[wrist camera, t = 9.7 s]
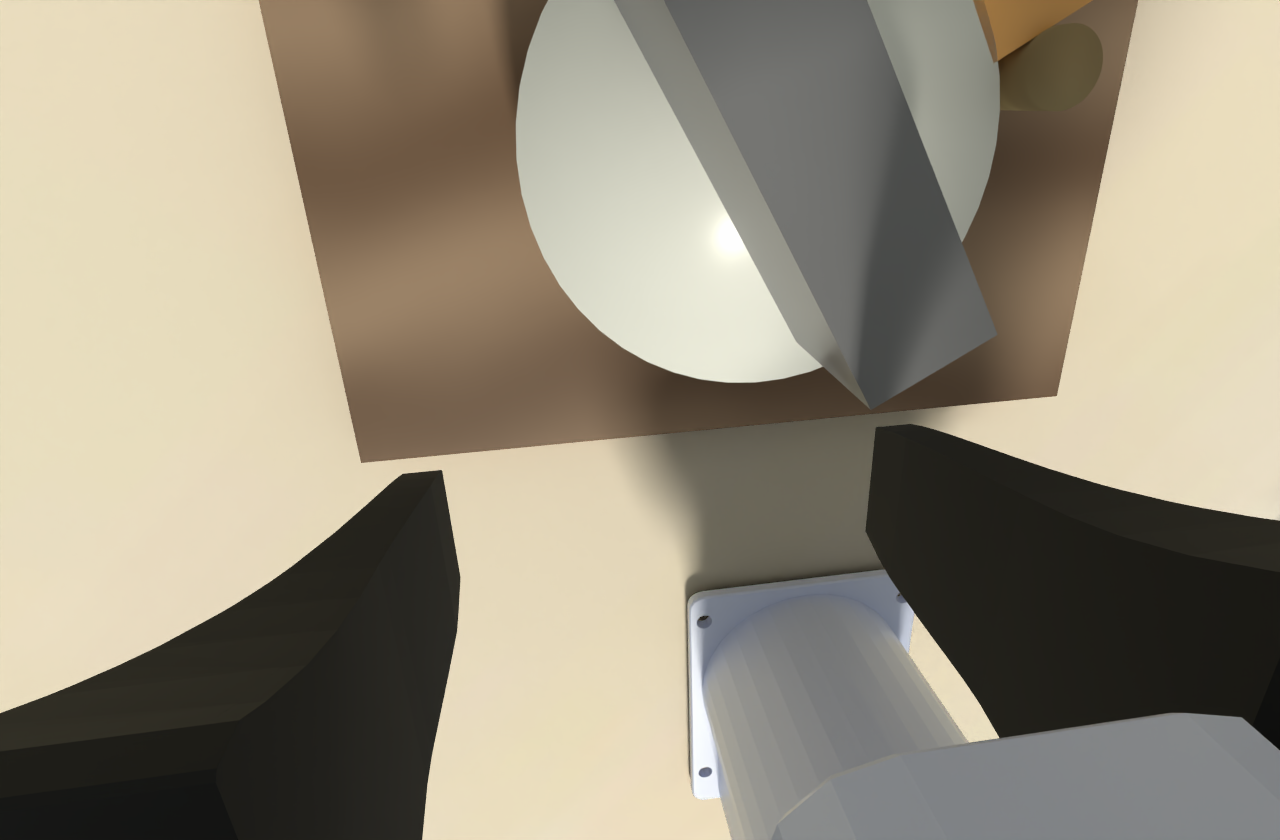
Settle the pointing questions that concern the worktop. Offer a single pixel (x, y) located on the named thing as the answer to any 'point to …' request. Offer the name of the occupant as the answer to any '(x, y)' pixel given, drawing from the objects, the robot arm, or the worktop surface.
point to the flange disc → (770, 177)
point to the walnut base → (523, 282)
